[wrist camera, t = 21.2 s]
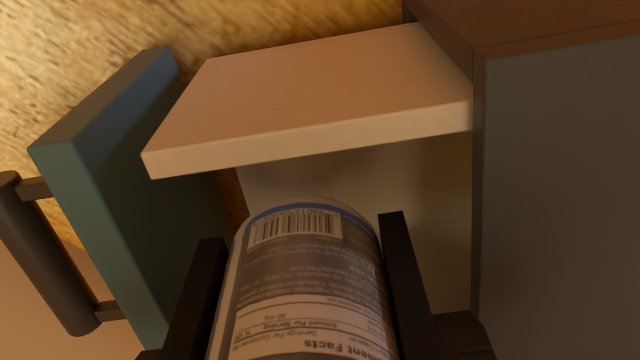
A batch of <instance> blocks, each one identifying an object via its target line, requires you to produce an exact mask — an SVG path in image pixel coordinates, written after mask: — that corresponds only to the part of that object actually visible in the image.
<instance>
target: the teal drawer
mask: <svg viewBox="0 0 640 360" xmlns="http://www.w3.org/2000/svg"><path fill="white" fill-rule="evenodd" d="M472 144H473V83H472V82H471V80H470V79H469V78H468V77H467V76H466V75H465V74H464V72H463V71H462V70H461V69H460V68H459V67H458V66H457V64H456V63H455V62H454V61H453V60H452V59H451V58H450V56H449V55H448V54H447V53H446V52H445V51H444V50H443V48H442V47H441V46H440V45H439V44H438V43H437V42H436V40H435V39H434V38H433V37H432V36H431V35H430V33H429V32H428V31H427V30H426V29H425V28H424V27H423V25H422V24H421V23H420V22H419V21H418V22H413V23H407V24H402V25H396V26H390V27H385V28H379V29H373V30H368V31H362V32H356V33H351V34H345V35H339V36H334V37H328V38H322V39H317V40H311V41H305V42H300V43H294V44H288V45H283V46H277V47H272V48H266V49H260V50H255V51H249V52H243V53H238V54H232V55H226V56H221V57H215V58H209V59H206V61H205V62H204V64H203V65H202V66H201V68H200V69H199V70H198V72H197V73H196V75H195V76H194V78H193V79H192V80H191V82H190V83H189V85H188V86H187V88H186V89H185V88H184V85H183V83H182V80H181V77H180V74H179V71H178V68H177V65H176V63H175V60H174V57H173V54H172V51H171V48H170V46H162V47H156V48H151V49H145V50H142V51H140V52H139V53H138V54H137V55H136V56H135V57H133V58H132V59H131V60H130V61H129V62H127V63H126V64H125V65H124V66H123V67H122V68H120V69H119V70H118V71H117V72H116V73H115V74H113V75H112V76H111V77H110V78H109V79H107V80H106V81H105V82H104V83H103V84H102V85H100V86H99V87H98V88H97V89H96V90H94V91H93V92H92V93H91V94H90V95H89V96H87V97H86V98H85V99H84V100H83V101H82V102H80V103H79V104H78V105H77V106H76V107H74V108H73V109H72V110H71V111H70V112H69V113H67V114H66V115H65V116H64V117H63V118H61V119H60V120H59V121H58V122H57V123H56V124H54V125H53V126H52V127H51V128H50V129H49V130H47V131H46V132H45V133H44V134H43V135H41V136H40V137H39V138H38V139H37V140H36V141H34V142H33V143H32V144H31V145H30V146H28V147H27V152H28V153H29V155H30V157H31V158H32V160H33V162H34V163H35V165H36V167H37V168H38V170H39V172H40V173H41V175H42V176H39V177H33V178H27V179H22V178H21V176H20V175H19V173H18V172H16V171H13V170H9V171H3V172H0V239H1V240H2V241H3V243H4V244H5V246H6V247H7V248H8V250H9V251H10V252H11V254H12V255H13V257H14V258H15V260H16V261H17V262H18V264H19V265H20V267H21V268H22V269H23V271H24V272H25V274H26V275H27V276H28V278H29V279H30V281H31V282H32V283H33V285H34V286H35V288H36V289H37V290H38V292H39V293H40V295H41V296H42V297H43V299H44V300H45V302H46V303H47V304H48V306H49V307H50V309H51V310H52V311H53V313H54V314H55V315H56V317H57V318H58V320H59V321H60V322H61V324H62V325H63V327H64V328H65V329H66V331H67V332H68V333H69V335H71V336H74V337H80V336H84V335H87V334H89V333H90V332H92V331H94V330H95V329H96V328H98V327H99V326H100V324H101V323H102V322H105V321H112V320H121V319H127V320H128V321H129V323H130V325H131V327H132V328H133V330H134V332H135V333H136V335H137V337H138V339H139V340H140V342H141V344H142V345H143V347H144V349H145V350H153V349H161V348H162V347H163V344H164V341H165V338H166V335H167V332H168V329H169V327H170V324H171V321H172V318H173V315H174V312H175V309H176V306H177V303H178V300H179V297H180V295H181V292H182V289H183V286H184V283H185V280H186V277H187V274H188V271H189V268H190V266H191V263H192V260H193V257H194V254H195V251H196V248H197V245H198V242H199V239H205V238H212V237H219V236H223V237H224V240H225V242H226V245H227V248H228V251H229V253H230V249H231V246H232V243H233V240H234V238H235V235H236V234H235V231H234V228H233V226H232V223H231V220H230V217H229V214H228V211H227V208H226V206H225V203H224V200H223V197H222V194H221V191H220V188H219V186H218V183H217V180H216V177H215V174H214V171H213V170H218V169H225V168H231V167H235V170H236V173H237V176H238V179H239V183H240V186H241V189H242V192H243V195H244V198H245V201H246V205H247V208H248V211H249V214H250V215H252V214H253V213H254V212H255V211H257V210H258V209H260V208H261V207H263V206H265V205H266V204H268V203H270V202H272V201H275V200H278V199H281V198H285V197H290V196H299V195H316V196H323V197H327V198H330V199H333V200H336V201H339V202H341V203H343V204H346V205H348V206H349V207H351V208H352V209H354V210H355V211H357V212H358V213H360V214H361V215H362V216H363V217H364V218H365V219H366V220H367V221H368V222H369V223H370V224H371V226H372V227H373V229H374V231H375V233H376V235H377V237H378V240H379V244H380V248H381V252H382V246H381V238H380V231H379V223H378V215H377V214H381V213H388V212H396V211H403V213H404V217H405V221H406V224H407V228H408V231H409V235H410V238H411V242H412V245H413V249H414V252H415V256H416V260H417V263H418V267H419V270H420V274H421V277H422V281H423V284H424V288H425V292H426V295H427V299H428V302H429V306H430V309H431V313H432V314H440V313H448V312H456V311H464V310H469V311H470V301H471V222H472ZM51 197H55V199H56V200H57V202H58V204H59V205H60V207H61V209H62V211H63V212H64V214H65V216H66V217H67V219H68V221H69V222H70V224H71V226H72V227H73V229H74V231H75V232H76V234H77V236H78V237H79V239H80V241H81V243H82V244H83V246H84V248H85V249H86V251H87V253H88V254H89V256H90V258H91V259H92V261H93V263H94V264H95V266H96V268H97V269H98V271H99V273H100V275H101V276H102V278H103V279H104V281H105V283H106V285H107V286H108V288H109V290H110V291H111V293H112V294H113V296H114V298H115V300H111V301H104V302H100V303H99V301H98V299H97V298H96V296H95V295H94V293H93V292H92V290H91V288H90V287H89V285H88V284H87V282H86V280H85V279H84V277H83V276H82V274H81V272H80V271H79V269H78V267H77V266H76V264H75V263H74V261H73V259H72V258H71V256H70V255H69V253H68V251H67V250H66V248H65V247H64V245H63V243H62V242H61V240H60V239H59V237H58V235H57V234H56V232H55V231H54V229H53V227H52V226H51V224H50V223H49V221H48V219H47V218H46V216H45V215H44V213H43V211H42V210H41V208H40V207H39V205H38V203H37V202H36V200H38V199H45V198H51ZM382 257H383V254H382ZM383 263H384V262H383Z"/></svg>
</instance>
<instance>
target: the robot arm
mask: <svg viewBox="0 0 640 360" xmlns="http://www.w3.org/2000/svg"><path fill="white" fill-rule="evenodd" d="M377 215H378V223H379V231H380V238H381V246H382V254H383V262H384V268H385V273H386V277H387V283H388V288H389V292H390V298H391V304H392V307H393V310H394V316H395V324H396V329H397V334H398V339H399V346H400V350H401V355H402V360H497V357H496V355H495V352H494V350H493V349H492V345H491V342H490V340H489V337H488V335H487V332H486V330H485V327H484V325H483V324H482V323H481V322H480V321H479V320H478V319H477V318H476V317H475V316H474V315H473V314H472V313H471V312H470V311H469V310H464V311H456V312H448V313H440V314H432V313H431V309H430V306H429V302H428V299H427V295H426V292H425V288H424V284H423V281H422V277H421V274H420V270H419V267H418V263H417V260H416V256H415V252H414V249H413V245H412V242H411V238H410V235H409V231H408V228H407V224H406V221H405V217H404V213H403V211H396V212H388V213H381V214H377ZM229 254H230V253H229V251H228V248H227V245H226V242H225V240H224V237H223V236H219V237H212V238H205V239H199V242H198V245H197V248H196V251H195V254H194V257H193V260H192V263H191V266H190V268H189V271H188V274H187V277H186V280H185V283H184V286H183V289H182V292H181V295H180V297H179V300H178V303H177V306H176V309H175V312H174V315H173V318H172V321H171V324H170V327H169V329H168V332H167V335H166V338H165V341H164V344H163V347H162V348H161V349H153V350H145V351H141V352H140V354H139V355H138V356H137V358H136V359H135V360H205V355H206V351H207V347H208V344H209V339H210V334H211V331H212V326H213V322H214V317H215V313H216V309H217V304H218V300H219V295H220V291H221V287H222V283H223V279H224V274H225V269H226V266H227V262H228V258H229Z"/></svg>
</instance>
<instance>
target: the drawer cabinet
mask: <svg viewBox="0 0 640 360" xmlns="http://www.w3.org/2000/svg"><path fill="white" fill-rule="evenodd" d="M402 10H403V24H407V23H413V22H418V21H419V22H420V23H421V24H422V25H423V27H424V28H425V29H426V30H427V31H428V32H429V33H430V35H431V36H432V37H433V38H434V39H435V40H436V42H437V43H438V44H439V45H440V46H441V47H442V48H443V50H444V51H445V52H446V53H447V54H448V55H449V56H450V58H451V59H452V60H453V61H454V62H455V63H456V64H457V66H458V67H459V68H460V69H461V70H462V71H463V72H464V74H465V75H466V76H467V77H468V78H469V79H470V80H471V82H472V83H473V144H472V222H471V301H470V312H471V313H472V314H473V315H474V316H475V317H476V318H477V319H478V320H479V321H480V322H481V323H482V324H483V325H484V327H485V330H486V332H487V335H488V337H489V340H490V342H491V345H492V349H493V350H494V352H495V355H496V357H497V360H640V0H402Z"/></svg>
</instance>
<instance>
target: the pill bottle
mask: <svg viewBox="0 0 640 360" xmlns="http://www.w3.org/2000/svg"><path fill="white" fill-rule="evenodd" d="M205 360H402V355H401V350H400V346H399V339H398V334H397V329H396V324H395V316H394V310H393V307H392V304H391V298H390V292H389V288H388V283H387V277H386V273H385V268H384V263H383V257H382V252H381V248H380V244H379V240H378V237H377V235H376V233H375V231H374V229H373V227H372V226H371V224H370V223H369V222H368V221H367V220H366V219H365V218H364V217H363V216H362V215H361V214H360V213H358V212H357V211H355V210H354V209H352V208H351V207H349V206H348V205H346V204H343V203H341V202H339V201H336V200H333V199H330V198H327V197H323V196H316V195H299V196H290V197H285V198H281V199H278V200H275V201H272V202H270V203H268V204H266V205H265V206H263V207H261V208H260V209H258V210H257V211H255V212H254V213H253V214H252V215H250V216H249V217H248V218H247V219H246V220H245V222H244V223H243V224H242V225H241V227H240V228H239V230H238V232H237V233H236V235H235V238H234V240H233V243H232V246H231V249H230V254H229V258H228V262H227V266H226V269H225V274H224V279H223V283H222V287H221V291H220V295H219V300H218V304H217V309H216V313H215V317H214V322H213V326H212V331H211V334H210V339H209V344H208V347H207V351H206V355H205Z"/></svg>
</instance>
